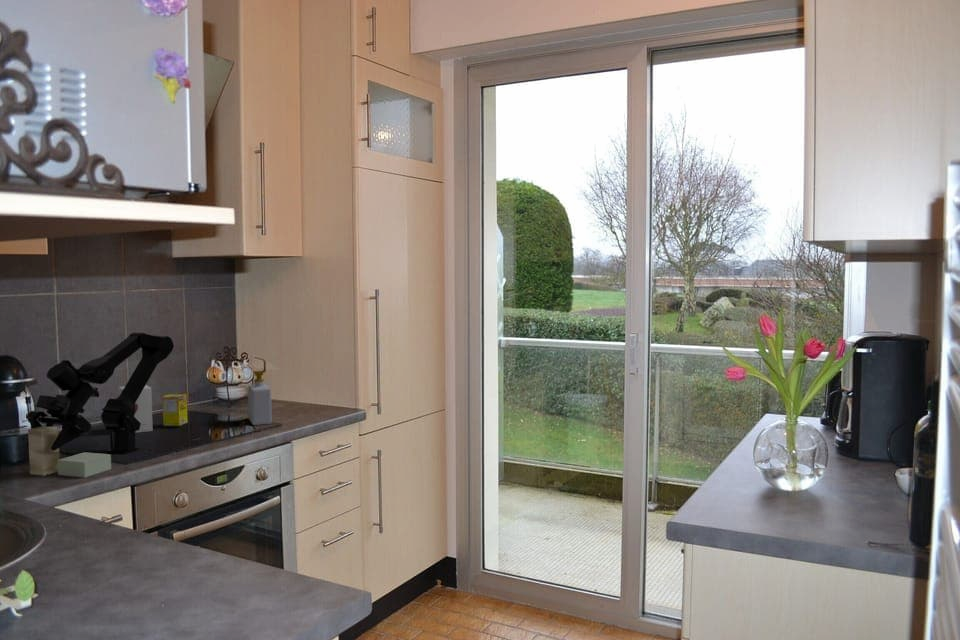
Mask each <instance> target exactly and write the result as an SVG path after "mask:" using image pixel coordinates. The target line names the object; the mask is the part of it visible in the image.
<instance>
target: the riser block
mask: <svg viewBox="0 0 960 640" xmlns="http://www.w3.org/2000/svg"><path fill="white" fill-rule="evenodd" d="M57 461H58V472H57V475H58V476H65V477H75V478H87V477H91V476H95V475H97V474H99V473H103V472H107V471H109V470H112V454H108V453H98V452H96V453H95V452H88V451H87V452H81V453H77V454H73V455H70V456H67V457H62V458H60V459H59V460H57Z"/></svg>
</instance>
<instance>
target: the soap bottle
mask: <svg viewBox="0 0 960 640" xmlns="http://www.w3.org/2000/svg"><path fill="white" fill-rule="evenodd" d="M254 359H256V360H261V361H263V370H258V371H253V373H254V376H255V377H256V379H253V381H254V384H250V385H248V386H247V403H248V407H247V408H248V410H247V411H248V420H249V421H250V423H251V424H252V426H259V425H260V426H261V425H270V424H272V422H273V421H272V420H273V418H272V390H271V388H270V387H269V386H268V385H267V384H265V379H264V378H262V376H263V375H264V373H266V372H267V365H266V364H267V363H266V359H263V358H262V357H258V356H254Z"/></svg>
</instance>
